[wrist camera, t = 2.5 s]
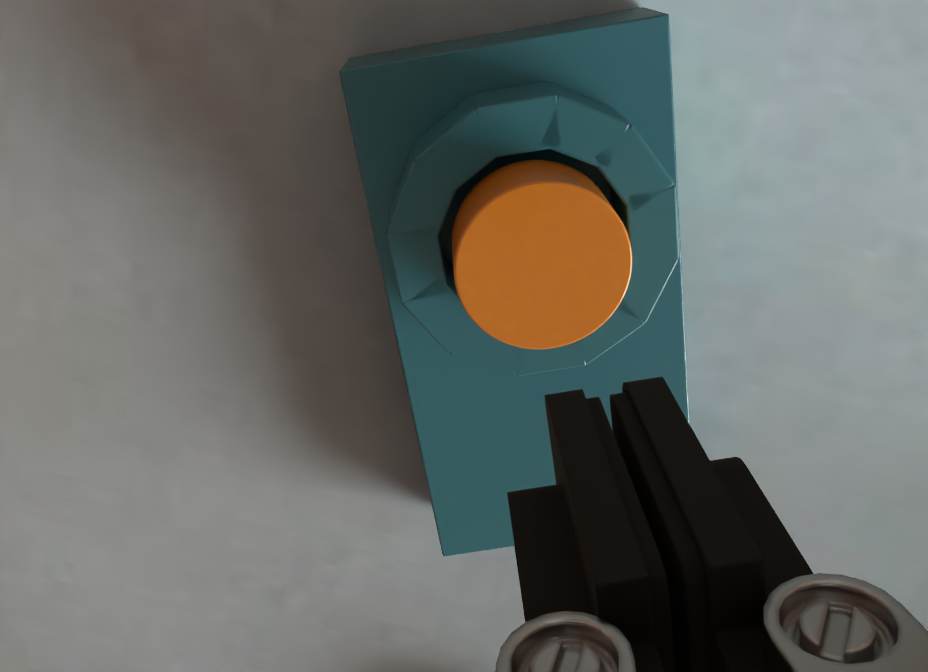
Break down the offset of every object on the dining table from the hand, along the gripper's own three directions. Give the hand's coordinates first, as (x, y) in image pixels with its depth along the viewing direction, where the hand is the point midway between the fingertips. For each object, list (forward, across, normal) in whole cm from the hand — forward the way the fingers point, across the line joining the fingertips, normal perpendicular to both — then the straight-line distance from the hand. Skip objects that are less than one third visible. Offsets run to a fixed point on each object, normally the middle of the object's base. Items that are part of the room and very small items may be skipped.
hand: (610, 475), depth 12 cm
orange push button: (+10, 0, 0) cm, 10 cm away
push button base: (+14, 0, +2) cm, 14 cm away
